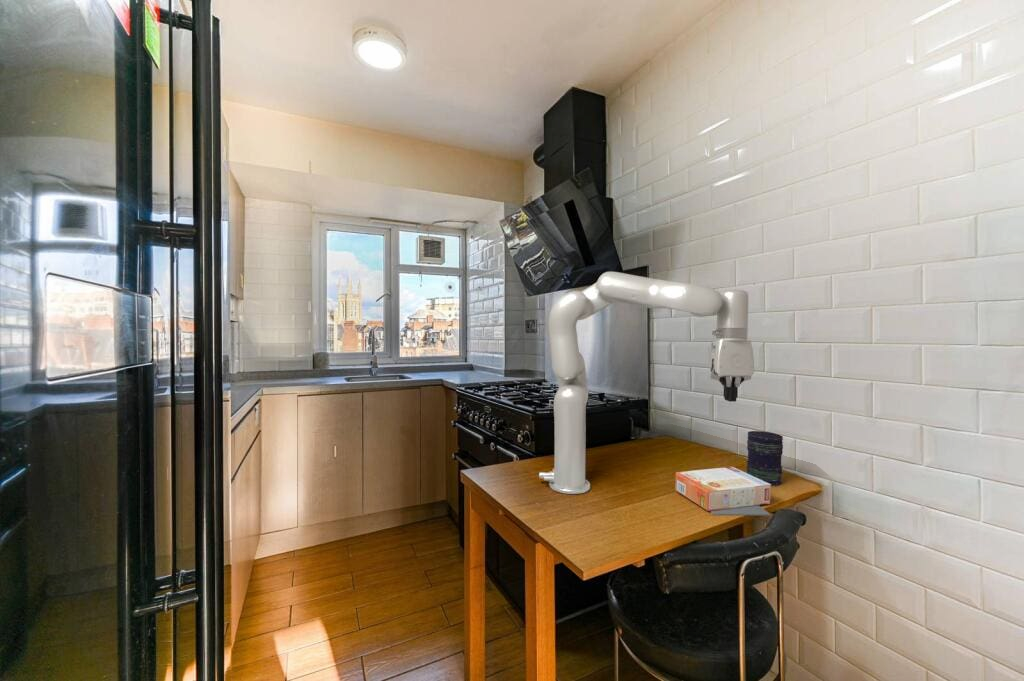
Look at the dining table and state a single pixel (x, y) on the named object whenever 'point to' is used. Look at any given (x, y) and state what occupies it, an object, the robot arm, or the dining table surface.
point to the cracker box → (722, 488)
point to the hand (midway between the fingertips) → (730, 400)
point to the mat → (742, 511)
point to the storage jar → (765, 456)
